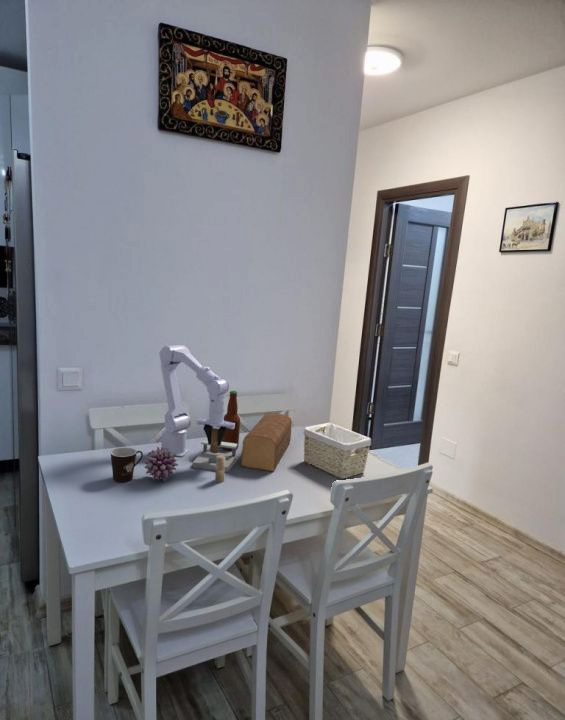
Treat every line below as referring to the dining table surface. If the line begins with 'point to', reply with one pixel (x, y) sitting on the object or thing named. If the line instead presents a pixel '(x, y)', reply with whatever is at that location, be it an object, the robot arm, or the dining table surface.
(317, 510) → the dining table surface
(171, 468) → the spiky ball
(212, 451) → the walnut peg
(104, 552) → the dining table surface
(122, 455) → the coffee mug
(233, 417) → the bottle
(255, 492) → the dining table surface
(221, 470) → the maple peg
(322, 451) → the storage basket
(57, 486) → the dining table surface
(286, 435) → the bread
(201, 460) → the socket board
